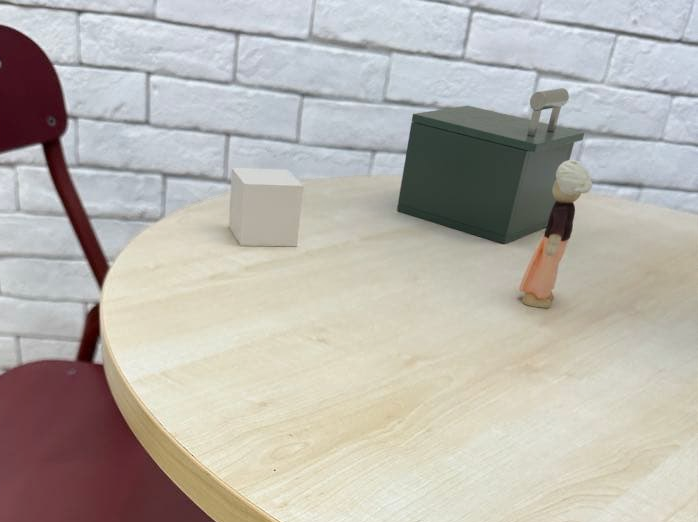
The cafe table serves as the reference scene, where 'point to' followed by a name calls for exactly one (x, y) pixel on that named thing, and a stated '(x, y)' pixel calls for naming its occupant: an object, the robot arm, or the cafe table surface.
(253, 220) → the light grey cube
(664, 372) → the cafe table surface
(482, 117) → the bin lid
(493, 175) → the bin
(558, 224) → the grandmother figurine
